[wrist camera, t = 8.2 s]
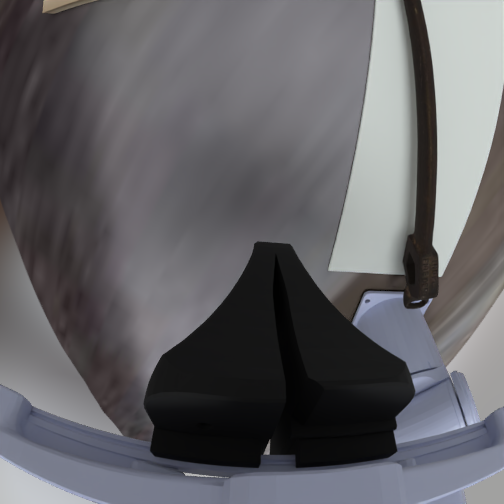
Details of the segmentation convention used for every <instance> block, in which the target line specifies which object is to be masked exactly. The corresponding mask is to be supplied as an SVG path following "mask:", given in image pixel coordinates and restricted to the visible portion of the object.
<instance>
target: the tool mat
mask: <svg viewBox="0 0 504 504" xmlns="http://www.w3.org/2000/svg"><path fill="white" fill-rule="evenodd" d="M421 3H422V8H423V12H424V17H425V21H426V26H427V32H428V37H429V43H430V49H431V56H432V64H433V73H434V84H435V96H436V114H437V186H436V207H435V221H434V231H433V242H432V245H433V247H434V248H435V250H436V252H437V254H438V258H439V275H438V277H442V275H443V273H444V271H445V269H446V266H447V264H448V262H449V260H450V258H451V256H452V254H453V251H454V249H455V247H456V245H457V242H458V240H459V238H460V235H461V233H462V231H463V228H464V226H465V223H466V221H467V218H468V216H469V213H470V210H471V208H472V205H473V202H474V200H475V197H476V194H477V191H478V188H479V185H480V182H481V179H482V176H483V172H484V169H485V166H486V162H487V159H488V155H489V152H490V148H491V144H492V140H493V136H494V132H495V127H496V123H497V118H498V113H499V108H500V102H501V97H502V90H503V83H504V0H421ZM416 188H417V108H416V90H415V77H414V66H413V57H412V48H411V40H410V35H409V27H408V21H407V16H406V11H405V6H404V1H403V0H375V7H374V20H373V31H372V41H371V51H370V59H369V68H368V75H367V83H366V90H365V97H364V103H363V109H362V116H361V122H360V128H359V133H358V139H357V144H356V150H355V155H354V160H353V165H352V170H351V175H350V180H349V184H348V189H347V193H346V198H345V202H344V207H343V211H342V215H341V220H340V224H339V228H338V232H337V236H336V240H335V244H334V248H333V252H332V255H331V259H330V263H329V267H328V271H341V272H359V273H377V274H396V275H405V271H404V266H403V256H404V251H405V247H406V242H407V237H408V235H410V234H413V233H414V227H415V213H416Z"/></svg>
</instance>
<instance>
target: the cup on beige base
mask: <svg viewBox="0 0 504 504" xmlns="http://www.w3.org/2000/svg"><path fill="white" fill-rule="evenodd" d="M93 1H97V0H44V4H43V13H51V14H55V13H58V12H61V11H64V10H67V9H70V8H73V7H76V6H79V5H83V4H86V3H90V2H93Z"/></svg>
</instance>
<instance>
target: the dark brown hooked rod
mask: <svg viewBox="0 0 504 504" xmlns="http://www.w3.org/2000/svg"><path fill="white" fill-rule="evenodd" d="M403 1H404V6H405V11H406V16H407V21H408V27H409V35H410V40H411V48H412V57H413V66H414V77H415V90H416V108H417V188H416V213H415V227H414V233H413V234H410V235H408V237H407V242H406V247H405V251H404V256H403V266H404V271H405V278H406V283H407V286H406V288H405V290H404V294H403V304H404V307H405V308H406V309H418V308H422V307H423V306H425V305H426V304H427V303H428V301H429V299H431V298H434V297H436V296H437V295H438V275H439V258H438V254H437V252H436V250H435V248H434V247H433V245H432V242H433V231H434V221H435V207H436V186H437V114H436V96H435V84H434V73H433V64H432V56H431V49H430V43H429V37H428V32H427V26H426V21H425V17H424V12H423V8H422V3H421V0H403ZM418 300H422V301H420V302H417V303H411V302H414V301H418Z"/></svg>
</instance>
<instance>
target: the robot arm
mask: <svg viewBox="0 0 504 504" xmlns="http://www.w3.org/2000/svg"><path fill="white" fill-rule="evenodd" d="M403 294H404V292H392V291H367V292H365V293H364V294H363V297H362V299H361V302H360V304H359V307H358V309H357V311H356V314H355V316H354V319H353V321H352V323H351V322H350V321H348V320H347V319H346V318H345V317H344V316H343V315H342V314H341V313H340V312H339V311H338V310H337V309H336V308H335V307H334V306H333V305H332V303H331V302H330V301H329V300H328V299H327V298H326V296H325V295H324V294H323V293H322V291H321V290H320V289H319V288H318V286H317V285H316V284H315V282H314V281H313V279H312V278H311V276H310V275H309V274H308V272H307V271H306V269H305V268H304V266H303V264H302V263H301V261H300V260H299V258H298V256H297V255H296V253H295V251H294V249H293V247H292V246H291V245H290V244H283V243H270V242H256V243H255V244H254V249H253V252H252V255H251V258H250V260H249V262H248V264H247V266H246V268H245V270H244V272H243V274H242V275H241V277H240V278H239V280H238V282H237V283H236V285H235V286H234V288H233V289H232V291H231V292H230V293H229V295H228V296H227V297H226V299H225V300H224V301H223V302H222V304H221V305H220V306H219V307H218V308H217V309H216V310H215V311H214V313H213V314H212V315H211V316H210V317H209V318H208V319H207V320H206V321H205V322H204V323H203V324H202V325H200V326H199V327H198V328H197V329H196V330H195V331H194V332H193V333H191V334H190V335H189V336H188V337H187V338H185V339H184V340H183V341H182V342H180V343H179V344H177V345H176V346H175V347H173V348H172V349H170V350H169V351H168V352H166V353H165V354H163V355H162V357H161V358H160V360H159V362H158V364H157V365H156V367H155V369H154V371H153V374H152V376H151V378H150V381H149V384H148V387H147V391H146V395H145V399H144V408H145V410H146V412H147V414H148V416H149V417H150V419H151V421H152V423H153V425H154V431H153V436H152V441H151V442H147V441H142V440H137V439H133V438H129V437H124V436H120V435H116V434H113V433H109V432H105V431H102V430H98V429H94V428H91V427H88V426H85V425H82V424H79V423H76V422H73V421H70V420H67V419H64V418H61V417H58V416H56V415H53V414H50V413H48V412H45V411H43V410H40V409H38V408H35V407H33V406H32V405H31V403H30V402H29V401H28V400H27V399H26V398H25V397H24V396H22V395H21V394H19V393H18V392H16V391H13V390H11V389H9V388H7V387H5V386H3V385H0V457H1V458H2V459H4V460H5V461H7V462H9V463H10V464H12V465H14V466H16V467H17V468H19V469H21V470H23V471H25V472H27V473H28V474H31V475H32V476H34V477H36V478H38V479H40V480H43V481H45V482H47V483H49V484H51V485H53V486H55V487H57V488H60V489H62V490H64V491H67V492H69V493H71V494H74V495H77V496H79V497H82V498H84V499H87V500H90V501H92V502H95V503H98V504H466V499H465V494H464V489H465V488H468V487H470V486H472V485H474V484H476V483H478V482H480V481H482V480H484V479H486V478H488V477H490V476H492V475H494V474H496V473H497V472H499V471H501V470H503V469H504V407H502V408H499V409H497V410H496V411H494V412H493V413H491V414H490V415H489V416H488V417H487V418H485V420H483V421H481V422H480V419H479V415H478V412H477V409H476V406H475V403H474V400H473V397H472V394H471V392H470V389H469V386H468V384H467V381H466V379H465V377H464V374H463V373H460V372H457V371H454V372H452V373H451V377H452V380H453V383H454V384H453V383H452V380H451V378H450V376H449V374H448V371H447V369H446V367H445V365H444V363H443V361H442V358H441V356H440V353H439V351H438V348H437V346H436V344H435V341H434V339H433V337H432V334H431V332H430V330H429V327H428V325H427V323H426V321H425V319H424V316H423V315H424V313H425V311H426V309H427V308H428V306H429V304H430V302H431V301H432V299H433V298H431V299H429V301H428V303H427V304H426V305H425V306H423V307H422V308H418V309H406V308H405V307H404V304H403ZM367 299H368V300H367ZM420 301H422V300H418V301H414V302H411V303H417V302H420ZM453 385H454V386H453ZM465 420H466V421H465ZM466 423H467V424H466ZM269 439H271V440H270V455H263V454H264V451H265V449H266V447H267V444H268V442H269ZM183 472H185V473H192V474H199V475H209V476H218V477H230V478H216V477H197V476H185V474H184V473H183Z"/></svg>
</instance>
